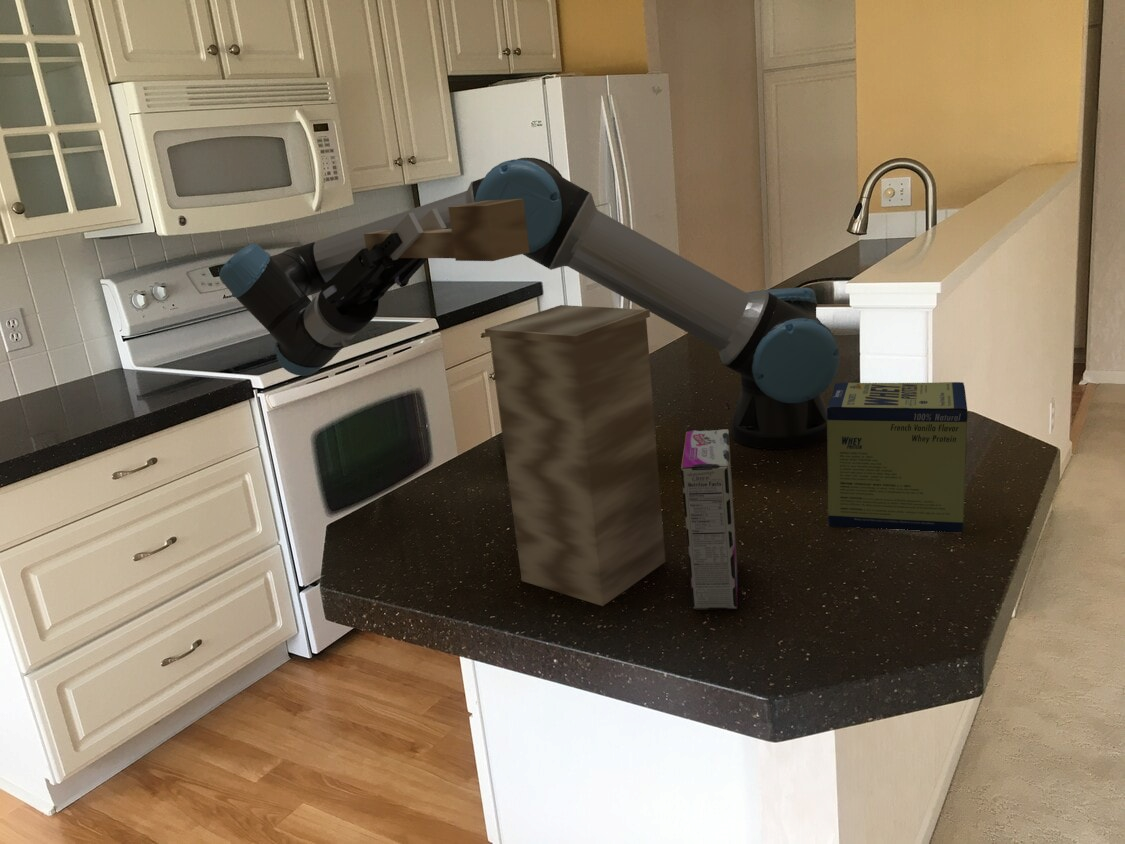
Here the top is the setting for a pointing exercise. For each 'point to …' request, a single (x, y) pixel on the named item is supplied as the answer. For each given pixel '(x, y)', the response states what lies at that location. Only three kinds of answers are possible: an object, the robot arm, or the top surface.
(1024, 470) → the top surface
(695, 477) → the candy bar box
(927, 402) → the protein box
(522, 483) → the block
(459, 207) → the mallet
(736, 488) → the top surface
